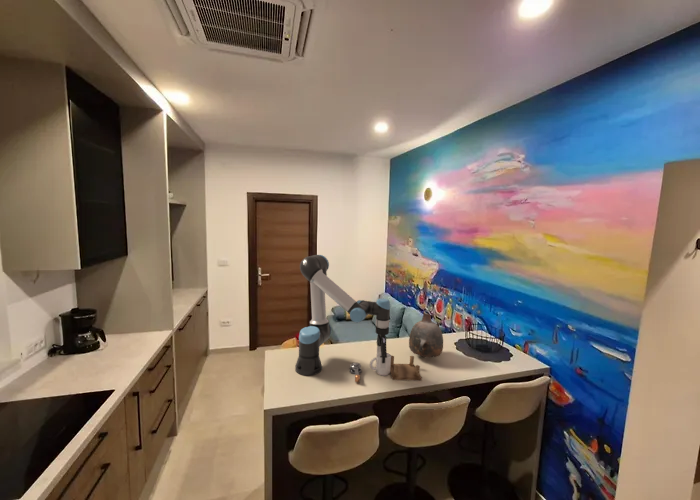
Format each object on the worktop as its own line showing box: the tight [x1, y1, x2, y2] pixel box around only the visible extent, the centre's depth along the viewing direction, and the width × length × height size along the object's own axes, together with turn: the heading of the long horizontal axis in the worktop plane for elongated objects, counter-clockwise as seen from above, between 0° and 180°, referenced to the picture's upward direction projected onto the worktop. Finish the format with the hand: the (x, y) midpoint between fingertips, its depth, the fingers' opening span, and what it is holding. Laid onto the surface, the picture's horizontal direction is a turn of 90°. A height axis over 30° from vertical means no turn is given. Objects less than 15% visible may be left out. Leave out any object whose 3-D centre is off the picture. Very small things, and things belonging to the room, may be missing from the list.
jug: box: [408, 311, 444, 358], centre depth 197 cm, size 24×21×30 cm
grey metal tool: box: [349, 362, 362, 383], centre depth 170 cm, size 6×17×4 cm, turn 3°
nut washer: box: [349, 368, 362, 375], centre depth 175 cm, size 7×7×1 cm
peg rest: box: [389, 354, 422, 381], centre depth 176 cm, size 16×16×7 cm
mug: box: [369, 352, 391, 377], centre depth 175 cm, size 12×8×10 cm
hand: (380, 362), depth 175 cm, fingers open, 13 cm apart
